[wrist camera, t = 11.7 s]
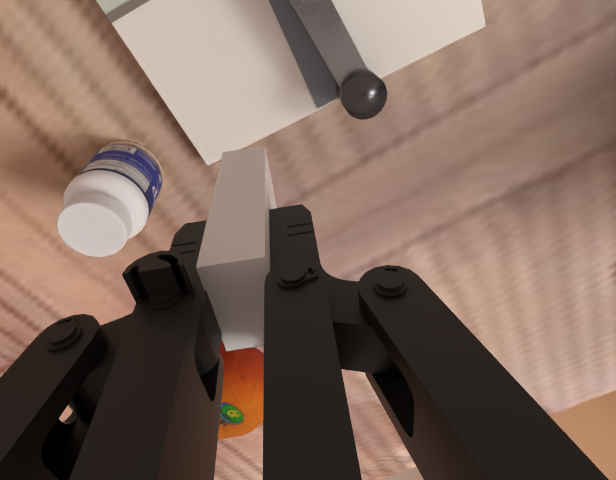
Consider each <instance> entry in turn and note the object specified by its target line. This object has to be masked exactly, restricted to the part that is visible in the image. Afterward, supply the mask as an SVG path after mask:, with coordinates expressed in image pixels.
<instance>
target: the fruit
mask: <svg viewBox="0 0 616 480" xmlns="http://www.w3.org/2000/svg"><path fill="white" fill-rule="evenodd" d="M220 354H221V357H222V360H223V363H224V379H223V389H222V400H221V410H220V420H219V430H218V439H224V438H230V437H236V436H242V435H244V434H247V433H249V432H251V431H253V430H254V429H255V428H256V427H258V426H259V425H260V424H261V423H262V422H263V396H264V354H263V353H262V352H261V351H259V350H258V349H256V348H255V347H250V348H244V349H238V350H231V351H226V349H225V346H224V343H221V346H220Z"/></svg>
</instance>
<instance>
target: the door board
mask: <svg viewBox="0 0 616 480" xmlns="http://www.w3.org/2000/svg"><path fill="white" fill-rule="evenodd" d="M96 1H97V3H98V4H99V6H100V7H101V9H102V10H103V12H104V13H105V14H106V17H107V18H108V20H109V21H110V23H112V25H113V26H114V28H115V29H116V31H117V32H118V34H119V35H120V37H121V38H122V40H123V41H124V43H125V44H126V46H127V47H128V49H129V50H130V52H131V53H132V54H133V56H134V57H135V59H136V60H137V62H138V63H139V65H140V66H141V68H142V69H143V71H144V72H145V74H146V75H147V77H148V78H149V80H150V81H151V83H152V84H153V86H154V87H155V89H156V90H157V92H158V93H159V94H160V96H161V97H162V99H163V100H164V102H165V103H166V105H167V106H168V108H169V109H170V111H171V112H172V114H173V115H174V117H175V118H176V120H177V121H178V123H179V124H180V126H181V127H182V129H183V130H184V132H185V133H186V135H187V136H188V137H189V139H190V140H191V142H192V143H193V145H194V146H195V148H196V149H197V151H198V152H199V154H200V155H201V157H202V158H203V160H204V161H205V163H206V164H207V166H208V165H210V164H212V163H214V162H216V161H218V160H220V159H221V157H222V153H223V152H227V151H234V150H240V149H242V148H244V147H246V146H248V145H250V144H252V143H254V142H256V141H258V140H260V139H262V138H264V137H266V136H268V135H270V134H272V133H274V132H276V131H278V130H280V129H282V128H284V127H286V126H288V125H290V124H292V123H294V122H296V121H298V120H300V119H302V118H304V117H306V116H308V115H310V114H312V113H314V112H316V111H318V110H320V109H322V108H324V107H326V106H328V105H330V104H332V103H334V102H336V101H338V100H340V99H339V98H338V96H337V94H336V90H335V84H336V81H335V79H334V77H333V76H332V74H331V72H330V71H329V69H328V67H327V65H326V64H325V62H324V60H323V59H322V57H321V55H320V53H319V52H318V50H317V48H316V47H315V45H314V43H313V41H312V40H311V38H310V36H309V34H308V33H307V31H306V29H305V28H304V26H303V24H302V22H301V21H300V19H299V17H298V16H297V14H296V12H295V10H294V9H293V7H292V5H291V3H290V2H289V0H96ZM332 2H333V4H334V6H335V8H336V10H337V12H338V14H339V16H340V17H341V19H342V21H343V23H344V25H345V27H346V29H347V31H348V33H349V35H350V37H351V38H352V40H353V42H354V44H355V46H356V48H357V50H358V52H359V54H360V56H361V58H362V59H363V61H364V63H365V65H366V67H368V68H369V69H370V70H371V71H372V72H373V73H374V74H376V75H377V76H378V77H379V78H380V79H381V78H383V77H385V76H387V75H389V74H391V73H393V72H395V71H397V70H399V69H401V68H403V67H405V66H407V65H409V64H411V63H413V62H415V61H417V60H419V59H421V58H423V57H425V56H427V55H429V54H431V53H433V52H435V51H437V50H439V49H441V48H443V47H445V46H447V45H449V44H451V43H453V42H455V41H457V40H459V39H461V38H463V37H465V36H467V35H469V34H471V33H473V32H475V31H477V30H479V29H481V28H483V27H485V26H486V25H485V19H484V14H483V8H482V2H481V0H332Z"/></svg>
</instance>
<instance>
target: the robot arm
mask: <svg viewBox="0 0 616 480" xmlns="http://www.w3.org/2000/svg"><path fill="white" fill-rule="evenodd" d="M122 276H123V278H124V280H125V282H126V284H127V285H128V287H129V289H130V291H131V293H132V295H133V297H134V299H135V301H136V305H135V308H134V311H133V313H131V314H129V315H127V316H125V317H122V318H120V319H117V320H114V321H112V322H109V323H106V324H104V325H101V326H100V324H99V323H98V321H97V320H96V319H95V318H94V317H93V316H91V315H86V314H80V315H72V316H69V317H67V318H64V319H61V320H59V321H57V322H56V323H54V324H52V325H50V326H49V327H47V328H46V329H45V330H44V331H43V332H42V333H41V334H39V335H38V336H37V337H36V338H35V340H34V341H33V342H32V343H31V344H30V345H29V346H28V347H27V348H26V350H25V351H24V352H23V353H22V354H21V355H20V356H19V357H18V359H17V360H16V361H15V362H14V363H13V364H12V365H11V366H10V368H9V369H8V370H7V371H6V372H5V373H4V374H3V375H2V376H1V378H0V480H214V471H215V461H216V451H217V441H218V430H219V420H220V410H221V400H222V389H223V379H224V363H223V360H222V357H221V354H220V346H221V338H222V341H223V343H224V346H225V349H226V351H231V350H238V349H244V348H250V347H257V346H263V345H264V396H263V480H362V478H361V473H360V467H359V462H358V457H357V451H356V446H355V441H354V435H353V430H352V425H351V419H350V414H349V409H348V403H347V398H346V393H345V387H344V382H343V377H342V371H341V369H345V370H352V371H360V372H365V374H366V377H367V378H368V380H369V382H370V384H371V386H372V387H373V389H374V391H375V393H376V395H377V396H378V398H379V400H380V402H381V404H382V405H383V407H384V409H385V411H386V412H387V414H388V416H389V418H390V420H391V421H392V423H393V425H394V427H395V429H396V430H397V432H398V434H399V436H400V438H401V439H402V441H403V443H404V445H405V447H406V448H407V450H408V452H409V454H410V455H411V457H412V459H413V461H414V463H415V464H416V466H417V468H418V470H419V472H420V473H421V475H422V477H423V479H424V480H608V478H607V477H606V476H605V475H604V474H603V473H602V472H601V471H600V470H599V469H598V468H597V467H596V466H595V464H594V463H593V462H592V461H591V460H590V459H589V458H588V457H587V456H586V455H585V454H584V453H583V452H582V451H581V449H580V448H579V447H578V446H577V445H576V444H575V443H574V442H573V441H572V440H571V439H570V438H569V437H568V436H567V434H566V433H565V432H564V431H562V429H561V428H560V427H559V426H558V425H557V424H556V423H555V422H554V421H553V419H551V417H550V416H549V415H548V414H547V413H546V412H545V411H544V410H543V409H542V408H541V407H540V406H539V404H538V403H537V402H536V401H535V400H534V399H533V398H532V397H531V396H530V395H529V394H528V393H527V392H526V391H525V389H524V388H523V387H522V386H521V385H520V384H519V383H518V382H517V381H516V380H515V379H514V378H513V377H512V376H511V374H510V373H509V372H508V371H507V370H506V369H505V368H504V367H503V366H502V365H501V364H500V363H499V362H498V361H497V359H496V358H495V357H494V356H493V355H492V354H491V353H490V352H489V351H488V350H487V349H486V348H485V347H484V346H483V344H482V343H481V342H480V341H479V340H478V339H477V338H476V337H475V336H474V335H473V334H472V333H471V332H470V331H469V329H468V328H467V327H466V326H465V325H464V324H463V323H462V322H461V321H460V320H459V319H458V318H457V317H456V316H455V314H454V313H453V312H452V311H451V310H450V309H449V308H448V307H447V306H446V305H445V304H444V303H443V302H442V301H441V299H440V298H439V297H438V296H437V295H436V294H435V293H434V292H433V291H432V290H431V289H430V288H429V287H428V285H427V284H426V283H425V282H424V281H423V280H422V279H421V278H420V277H419V276H418V275H417V274H415V273H414V272H413V271H411V270H409V269H406V268H403V267H400V266H391V265H386V266H380V267H375V268H373V269H371V270H369V271H367V272H366V273H365V274H364V275H363V276H362V277H361V278H360V280H359V282H358V281H347V280H341V279H338V278H335V277H332V276H331V275H329V274H327V273H326V272H325V271H324V270H323V268H322V266H321V264H320V259H319V254H318V249H317V243H316V238H315V233H314V227H313V222H312V217H311V212H310V211H309V210H308V209H307V208H305V207H304V206H303V205H295V206H289V207H282V208H277V205H276V200H275V195H274V190H273V185H272V180H271V174H270V169H269V164H268V159H267V154H266V149H265V146H260V147H253V148H247V149H240V150H234V151H227V152H223V153H222V157H221V161H220V166H219V170H218V174H217V179H216V183H215V187H214V192H213V196H212V200H211V205H210V209H209V213H208V218H207V220H206V221H199V222H193V223H186V224H184V225H183V226H182V227H181V228H180V230H179V231H178V232H177V233H176V234H175V235H174V238H173V241H172V244H171V247H170V250H169V251H159V252H155V253H151V254H148V255H146V256H144V257H141V258H139V259H137V260H136V261H135V262H133V263H132V264H131V265H129V266H128V267H127V268H126V270H125V271H124V272H123V274H122ZM67 405H68V406H69V407H70V408H71V409H72V411H73V412H72V414H71V415H70V416H69V417H68V419H67V420H66V421H65V422H61V421H60V420H59V417H60V416H61V414H62V413H63V411H64V410H65V408H66V407H67Z"/></svg>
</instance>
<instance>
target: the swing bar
mask: <svg viewBox="0 0 616 480" xmlns="http://www.w3.org/2000/svg"><path fill="white" fill-rule="evenodd" d="M289 2H290V3H291V5H292V7H293V9H294V10H295V12H296V14H297V16H298V17H299V19H300V21H301V22H302V24H303V26H304V28H305V29H306V31H307V33H308V34H309V36H310V38H311V40H312V41H313V43H314V45H315V47H316V48H317V50H318V52H319V53H320V55H321V57H322V59H323V60H324V62H325V64H326V65H327V67H328V69H329V71H330V72H331V74H332V76H333V77H334V79H335V81H336V84H335V90H336V94H337V96H338V98H339V99H340V101H341V103H342V104H343V106H344V107H345V109H346V111H347V112H348V113H349V114H350V115H351V116H352V117H354V118H357V119H369V118H372V117H374V116H375V115H377V114H378V113H379V112H380V111H381V110H382V108H383V107H384V105H385V102H386V99H387V90H386V86H385V84H384V82H383V81H382V80H381V79H380V78H379V77H378V76H377V75H376V74H374V73H373V72H372V71H371V70H370V69H369V68H368V67H366V65H365V63H364V61H363V59H362V58H361V56H360V54H359V52H358V50H357V48H356V46H355V44H354V42H353V40H352V38H351V37H350V35H349V33H348V31H347V29H346V27H345V25H344V23H343V21H342V19H341V17H340V16H339V14H338V12H337V10H336V8H335V6H334V4H333V2H332V0H289Z"/></svg>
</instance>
